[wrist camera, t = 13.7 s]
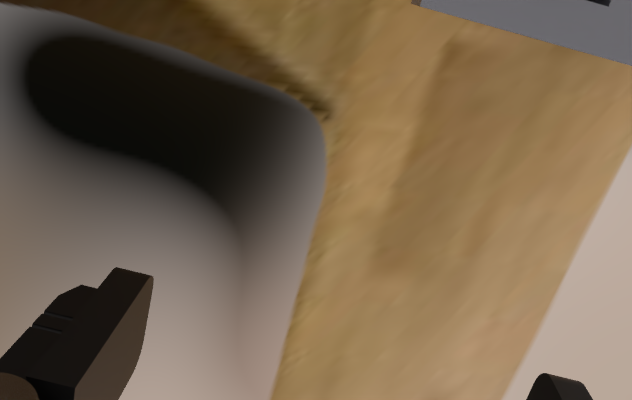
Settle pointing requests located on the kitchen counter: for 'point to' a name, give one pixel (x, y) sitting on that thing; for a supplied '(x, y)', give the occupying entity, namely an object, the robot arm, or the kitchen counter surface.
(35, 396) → the robot arm
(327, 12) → the kitchen counter surface
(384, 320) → the kitchen counter surface
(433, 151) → the kitchen counter surface
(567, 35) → the tray
